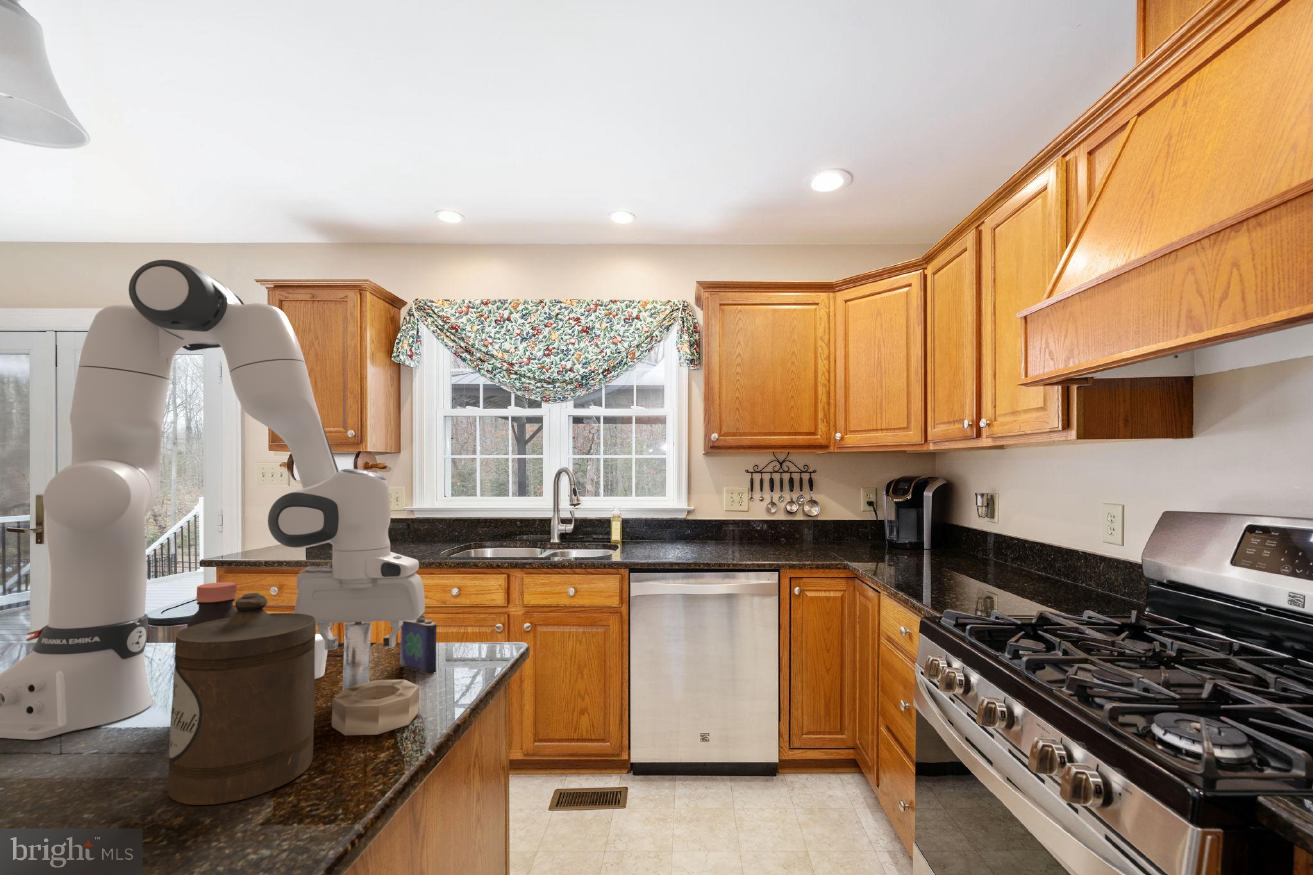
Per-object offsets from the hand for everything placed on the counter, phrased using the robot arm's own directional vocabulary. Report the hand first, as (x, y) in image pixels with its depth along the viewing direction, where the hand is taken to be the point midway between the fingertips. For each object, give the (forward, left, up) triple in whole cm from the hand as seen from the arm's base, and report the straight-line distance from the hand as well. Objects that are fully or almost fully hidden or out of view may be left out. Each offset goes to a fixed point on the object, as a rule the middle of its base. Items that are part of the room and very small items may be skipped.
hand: (360, 647), depth 102 cm
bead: (+7, -10, -8) cm, 14 cm away
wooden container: (-3, -26, -8) cm, 28 cm away
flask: (+6, +14, -8) cm, 17 cm away
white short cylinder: (-13, +11, -8) cm, 19 cm away
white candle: (0, 0, -8) cm, 8 cm away
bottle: (-18, -8, -8) cm, 22 cm away
